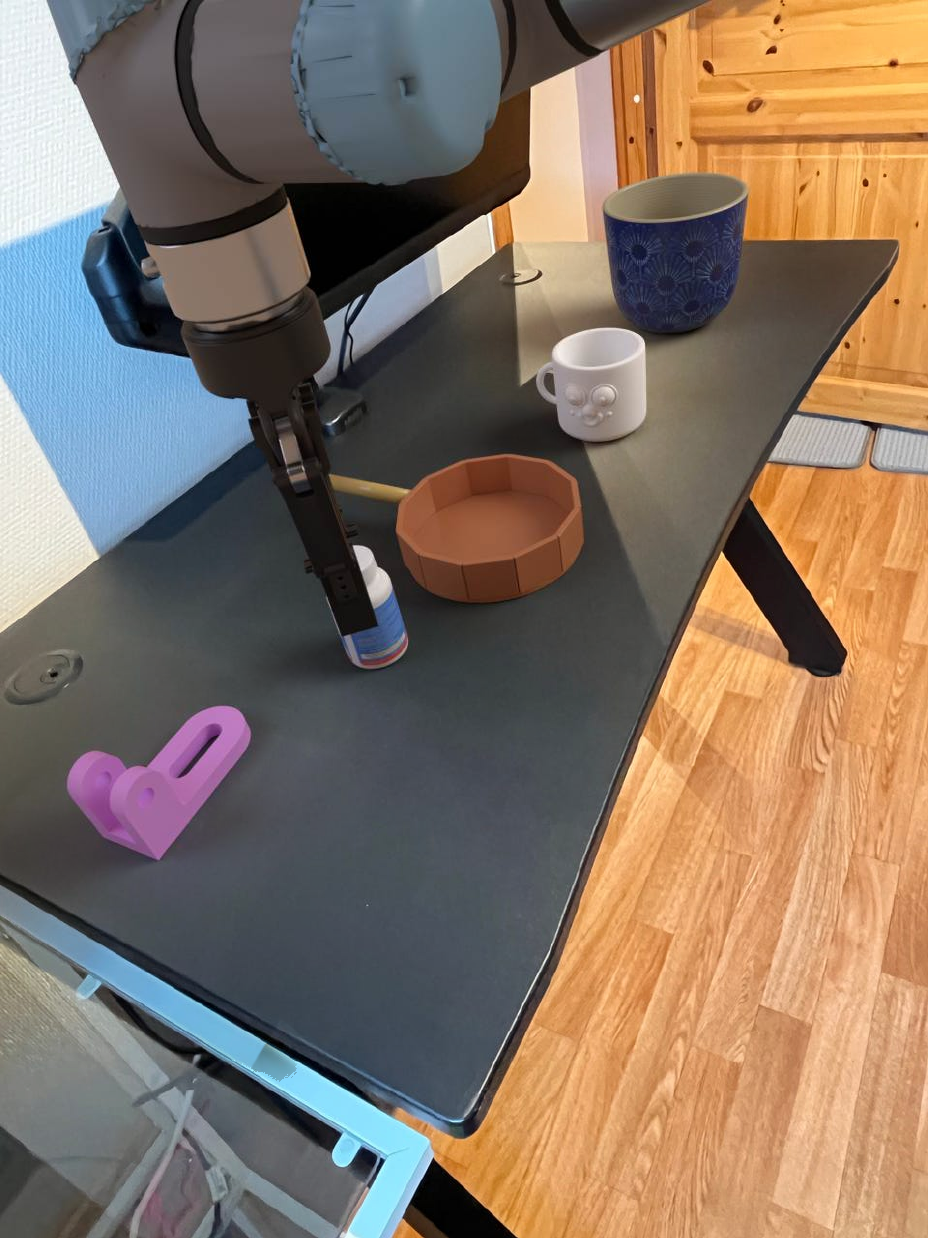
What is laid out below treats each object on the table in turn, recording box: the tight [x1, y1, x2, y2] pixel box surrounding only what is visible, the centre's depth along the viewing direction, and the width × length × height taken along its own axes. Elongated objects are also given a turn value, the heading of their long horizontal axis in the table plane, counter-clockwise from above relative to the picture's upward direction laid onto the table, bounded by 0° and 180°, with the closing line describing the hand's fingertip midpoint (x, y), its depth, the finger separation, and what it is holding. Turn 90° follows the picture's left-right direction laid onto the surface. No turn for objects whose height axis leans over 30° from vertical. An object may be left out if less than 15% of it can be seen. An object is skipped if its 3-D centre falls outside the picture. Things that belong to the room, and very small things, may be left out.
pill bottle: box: [325, 544, 409, 670], centre depth 69 cm, size 6×5×10 cm
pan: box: [328, 453, 585, 604], centre depth 82 cm, size 28×17×5 cm, turn 59°
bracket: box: [66, 705, 252, 861], centre depth 63 cm, size 13×6×7 cm, turn 154°
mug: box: [535, 327, 647, 443], centre depth 91 cm, size 12×10×9 cm
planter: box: [602, 172, 750, 334], centre depth 105 cm, size 17×17×15 cm
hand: (358, 624), depth 60 cm, fingers closed
